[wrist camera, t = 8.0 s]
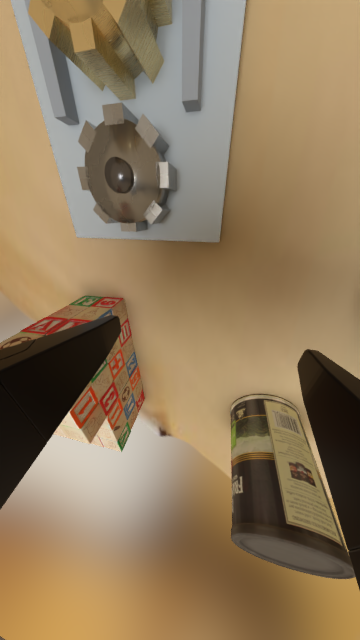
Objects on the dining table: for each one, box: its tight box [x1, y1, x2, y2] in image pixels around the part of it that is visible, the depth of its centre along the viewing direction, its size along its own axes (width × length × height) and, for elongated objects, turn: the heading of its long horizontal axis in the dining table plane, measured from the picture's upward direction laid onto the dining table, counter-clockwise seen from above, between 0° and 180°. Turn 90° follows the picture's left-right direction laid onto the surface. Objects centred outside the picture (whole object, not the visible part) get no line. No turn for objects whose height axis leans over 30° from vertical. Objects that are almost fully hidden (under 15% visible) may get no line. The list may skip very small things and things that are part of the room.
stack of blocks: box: [0, 296, 145, 452], centre depth 24 cm, size 21×6×12 cm, turn 2°
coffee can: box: [230, 394, 356, 579], centre depth 22 cm, size 10×10×14 cm
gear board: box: [11, 0, 247, 242], centre depth 12 cm, size 15×18×3 cm
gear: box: [77, 102, 177, 232], centre depth 14 cm, size 7×7×3 cm
